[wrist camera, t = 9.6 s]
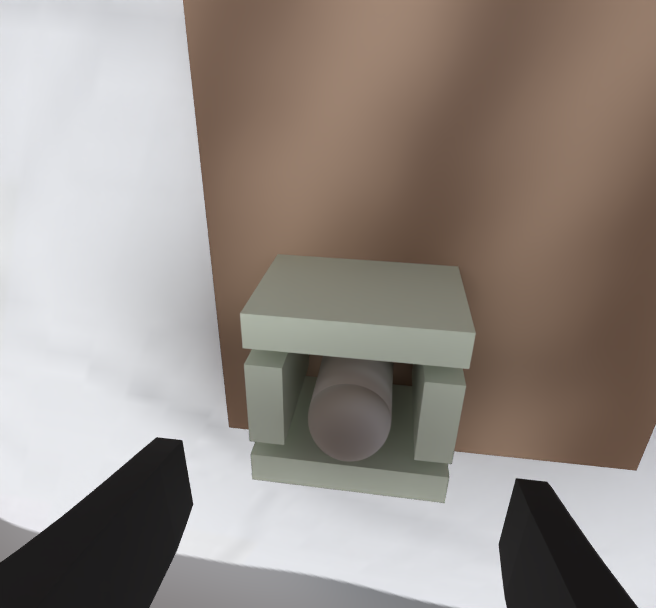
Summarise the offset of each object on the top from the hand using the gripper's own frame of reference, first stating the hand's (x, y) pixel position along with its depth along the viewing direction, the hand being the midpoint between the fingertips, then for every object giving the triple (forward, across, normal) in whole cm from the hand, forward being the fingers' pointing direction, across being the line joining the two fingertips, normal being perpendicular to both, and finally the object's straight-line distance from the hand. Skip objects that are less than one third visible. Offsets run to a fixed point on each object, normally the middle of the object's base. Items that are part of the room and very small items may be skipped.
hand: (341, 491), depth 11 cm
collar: (+6, 0, 0) cm, 7 cm away
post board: (+8, -2, -5) cm, 9 cm away
